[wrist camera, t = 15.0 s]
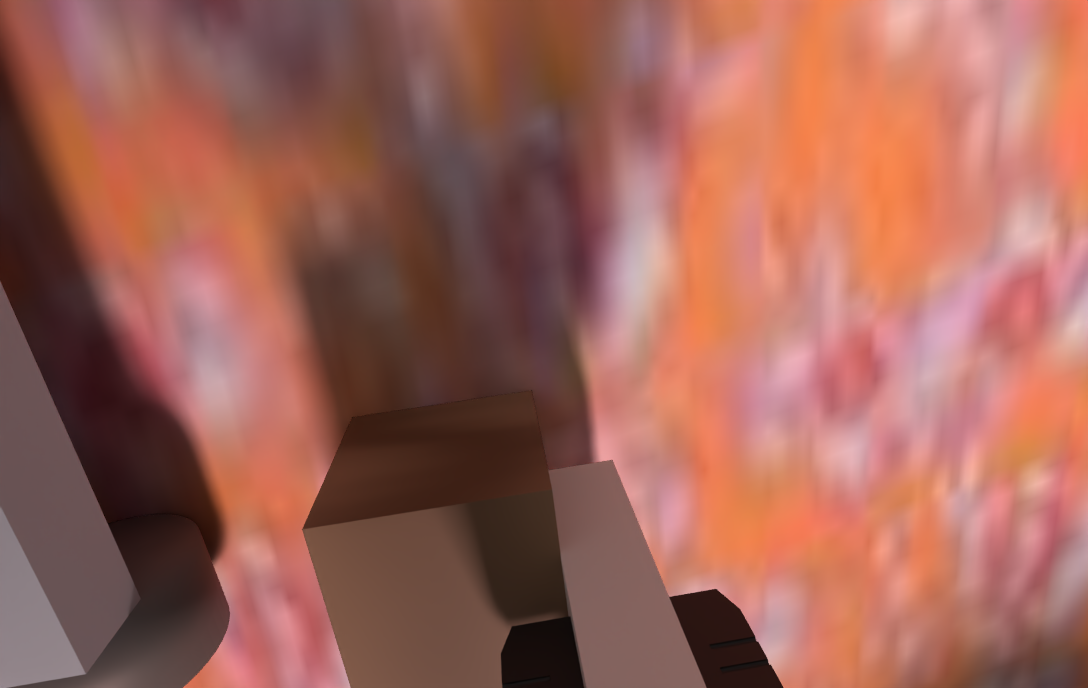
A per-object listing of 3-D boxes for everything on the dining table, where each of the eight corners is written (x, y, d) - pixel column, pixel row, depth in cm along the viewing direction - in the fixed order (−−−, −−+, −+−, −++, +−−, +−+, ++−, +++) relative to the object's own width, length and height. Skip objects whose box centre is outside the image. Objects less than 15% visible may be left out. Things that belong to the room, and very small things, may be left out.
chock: (397, 596, 15) (370, 751, 11) (352, 416, 13) (302, 529, 9) (556, 569, 15) (581, 712, 11) (531, 390, 13) (552, 489, 10)
